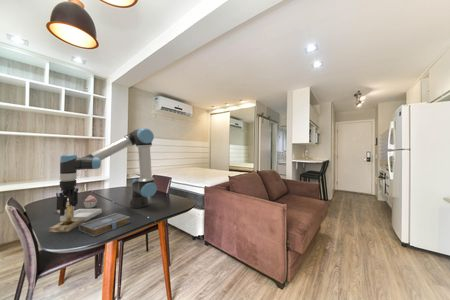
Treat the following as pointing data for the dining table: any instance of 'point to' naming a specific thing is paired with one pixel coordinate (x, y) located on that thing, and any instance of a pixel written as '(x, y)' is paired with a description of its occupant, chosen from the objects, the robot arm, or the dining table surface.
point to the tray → (86, 214)
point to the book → (103, 224)
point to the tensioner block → (65, 226)
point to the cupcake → (90, 202)
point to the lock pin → (68, 215)
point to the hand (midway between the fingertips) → (67, 218)
